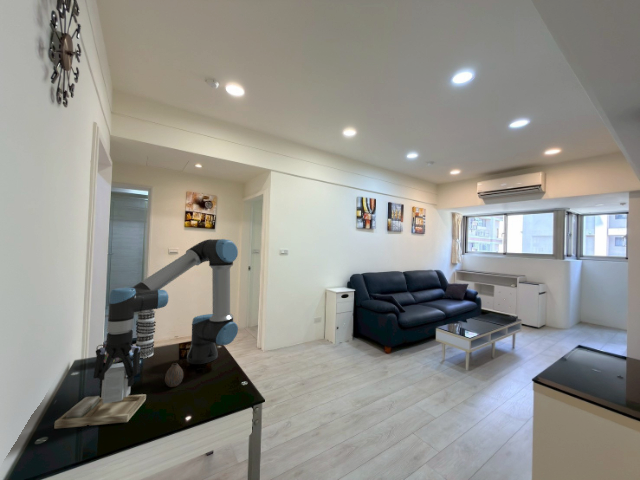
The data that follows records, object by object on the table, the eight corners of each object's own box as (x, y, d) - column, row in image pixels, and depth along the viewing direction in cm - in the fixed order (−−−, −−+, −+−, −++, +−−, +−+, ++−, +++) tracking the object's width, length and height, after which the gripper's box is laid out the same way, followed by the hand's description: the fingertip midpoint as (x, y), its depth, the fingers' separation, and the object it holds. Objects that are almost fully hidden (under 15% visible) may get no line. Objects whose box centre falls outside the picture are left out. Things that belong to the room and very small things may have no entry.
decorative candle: (129, 357, 137) (132, 310, 138) (146, 351, 146) (149, 307, 147) (141, 360, 134) (144, 312, 135) (158, 353, 142) (160, 308, 144)
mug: (126, 356, 138) (127, 336, 139) (123, 362, 130) (124, 341, 131) (97, 360, 132) (99, 339, 133) (93, 367, 124) (94, 345, 125)
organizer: (145, 399, 99) (146, 389, 99) (127, 421, 86) (127, 410, 86) (83, 404, 95) (84, 394, 95) (54, 428, 82) (55, 416, 82)
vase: (185, 384, 111) (186, 364, 111) (167, 391, 106) (168, 369, 106) (179, 379, 115) (180, 359, 116) (162, 384, 110) (163, 364, 111)
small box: (110, 392, 94) (112, 363, 95) (128, 389, 96) (130, 361, 97) (101, 404, 87) (104, 373, 87) (121, 401, 89) (123, 370, 89)
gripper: (154, 327, 98) (150, 388, 97) (96, 328, 94) (92, 392, 93) (144, 333, 91) (140, 399, 90) (82, 335, 87) (77, 404, 86)
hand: (116, 396), depth 91 cm, fingers closed on small box, 6 cm apart
